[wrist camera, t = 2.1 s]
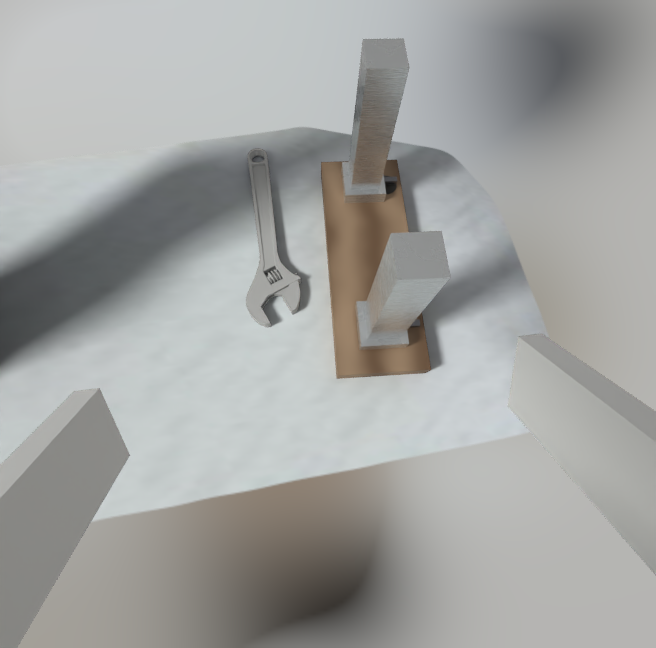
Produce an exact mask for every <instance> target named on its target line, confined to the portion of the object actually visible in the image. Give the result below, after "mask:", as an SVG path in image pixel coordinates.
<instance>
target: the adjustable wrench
mask: <svg viewBox="0 0 656 648" xmlns="http://www.w3.org/2000/svg"><path fill="white" fill-rule="evenodd" d="M257 156H261V157H263V158H264V160H263V161H261V162H253V161H252V159H253V158H254V157H257ZM248 164H249V172H250V180H251V188H252V196H253V204H254V212H255V220H256V228H257V236H258V244H259V252H260V261H259V266H258V269H257V272H256V275H255V278H254V280H253V282H252V285H251V287H250V289H249V291H248V293H247V297H246V305H247V308H248V311H249V313H250V315H251V317H252V318H253V319H254V320H255V321H256V322H257V323H259V324H260V325H262V326H265V327H271V323H270V321H269V320H268V318H267V316H266V315H265V313H264V311H263V308H264V307H265V305H266V304H267V302H268V300H269V299H271V298H273V297H275V296H283V300H284V301H285V303H286V305H287V306H288V308H289V310H290V311H291V313H292V314H295V313H296V312H297V310H298V308H299V305H300V288H299V283H301V278H300V277H299V276H298V275H297V273H294V274H292V273H291V272H290V271H289V270H288V269H287V268H286V267H285V266H283V264H282V263H281V261H280V259H279V257H278V250H277V240H276V231H275V221H274V212H273V203H272V193H271V184H270V174H269V165H268V158H267V153H266V152H265V151H264V150H263V149H259V148H256V149H253V150H251V151H250V152H249V153H248ZM276 270H277V271H276ZM273 271H274V272H273ZM270 272H271V274H270ZM267 274H268V275H267ZM266 275H267V276H266Z"/></svg>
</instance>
